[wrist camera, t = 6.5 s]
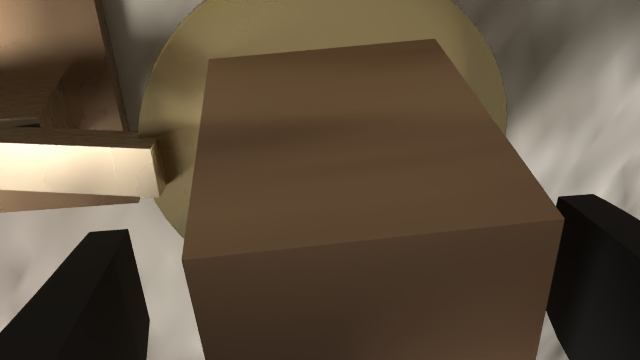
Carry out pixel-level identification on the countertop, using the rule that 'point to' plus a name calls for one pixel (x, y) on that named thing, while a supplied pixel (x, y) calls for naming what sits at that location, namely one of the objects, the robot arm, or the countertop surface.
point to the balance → (173, 89)
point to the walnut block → (362, 213)
